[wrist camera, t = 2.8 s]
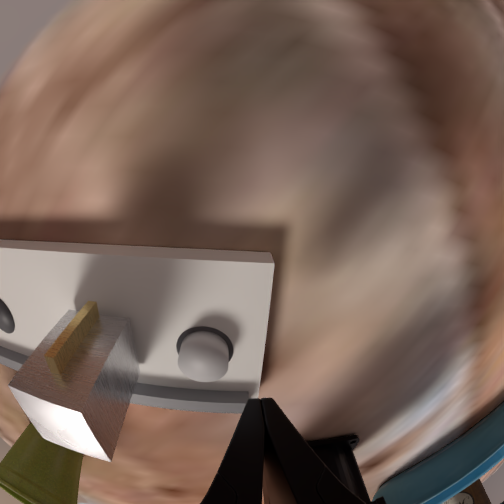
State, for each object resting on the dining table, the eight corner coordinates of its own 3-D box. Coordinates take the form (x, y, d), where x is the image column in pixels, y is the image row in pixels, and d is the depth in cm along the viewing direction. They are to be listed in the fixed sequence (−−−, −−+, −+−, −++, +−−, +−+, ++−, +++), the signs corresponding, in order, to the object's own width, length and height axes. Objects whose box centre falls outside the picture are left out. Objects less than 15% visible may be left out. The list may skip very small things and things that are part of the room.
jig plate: (270, 252, 11) (278, 274, 9) (254, 392, 14) (258, 423, 12) (-32, 237, 10) (-54, 249, 7) (0, 346, 12) (-15, 364, 10)
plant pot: (69, 421, 15) (36, 504, 6) (114, 473, 18) (100, 539, 10) (2, 399, 14) (-32, 458, 6) (48, 453, 17) (28, 507, 9)
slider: (127, 302, 10) (72, 395, 5) (140, 371, 11) (111, 462, 6) (65, 294, 10) (-1, 368, 5) (84, 361, 11) (43, 438, 6)
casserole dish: (548, 345, 19) (573, 369, 12) (513, 416, 26) (528, 436, 20) (336, 491, 22) (348, 536, 15) (354, 513, 29) (363, 541, 22)
